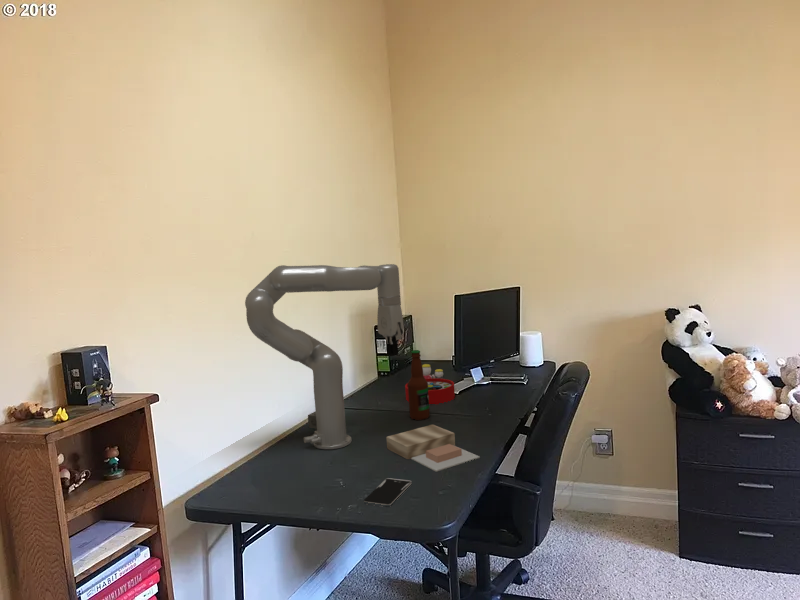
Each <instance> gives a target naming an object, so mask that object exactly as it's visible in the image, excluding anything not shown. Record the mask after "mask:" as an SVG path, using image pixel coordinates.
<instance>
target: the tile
mask: <svg viewBox="0 0 800 600" xmlns="http://www.w3.org/2000/svg"><path fill="white" fill-rule="evenodd" d="M460 448H461V447H459V448H458V446H456V445H455V446H453V445H451V444H447V445H444V446H441V447H437V448H434V449H430V450H427V451H426V458H428V459H431V460H433V461H435V462H437V463H439V462H442V461H445V460H449V459H452V458H455V457H458V456H461V455H462V449H463V448H461V449H460Z"/></svg>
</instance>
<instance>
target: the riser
mask: <svg viewBox="0 0 800 600" xmlns="http://www.w3.org/2000/svg"><path fill="white" fill-rule="evenodd" d="M455 435H456V434H455V432H453V431H450V430H448V429H445V428H442V427H440V426H438V425H435V424H429V425H426V426H422V427H417V428H414V429H409V430H407V431H404V432H400V433H396V434H391V435H388V436H386V437H385V438H386V449H387V450H389V452H390V451H391V452H392V453H395V454H396V455H398V456H400V457H402V458H404V459H406V460H410V459H411V458H412V457H416V456H419V455H422V454H426V451H427V450H430V449H434V448H437V447H441V446H444V445H447V444H451V445H454V446H456V437H455ZM411 460H412V459H411Z"/></svg>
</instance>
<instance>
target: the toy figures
mask: <svg viewBox="0 0 800 600" xmlns="http://www.w3.org/2000/svg"><path fill="white" fill-rule="evenodd" d="M422 368H423V376H424V378H425V379H431V378H438V379H446V378H445V377H446V376H444V370H443V369H441V368H439V369H438V368H437V369H435V370H434V374H431V373H432V368H431V364H428V363H424V364H422Z"/></svg>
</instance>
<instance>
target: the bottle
mask: <svg viewBox="0 0 800 600" xmlns="http://www.w3.org/2000/svg"><path fill="white" fill-rule="evenodd" d="M422 365H423V364H422V360H421V350H419V349H414V350H412V351H411V366H410V374H411V375H410V378H409V380H408V382H407V383H408V395H409V402H408V407H409V408H408V409H409V417H410V419H411V420H413V419H415V420H414V421H424V420H428V419H429V417H430V416H431V415H430V405H429V396H428V383H427V381H426V379H425V378H424V376H423V368H422ZM423 419H424V420H423Z"/></svg>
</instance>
